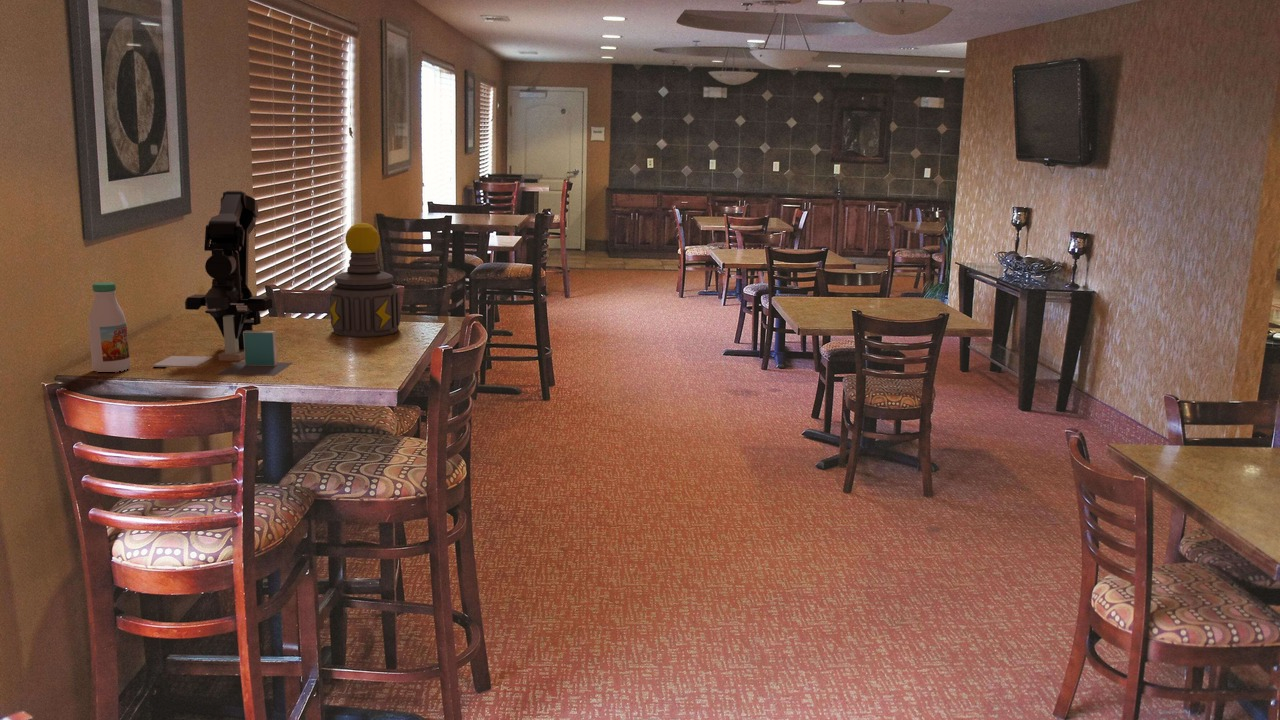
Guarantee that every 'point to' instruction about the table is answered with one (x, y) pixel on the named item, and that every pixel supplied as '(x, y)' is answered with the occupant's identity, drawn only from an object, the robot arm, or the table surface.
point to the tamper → (230, 341)
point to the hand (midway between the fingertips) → (231, 338)
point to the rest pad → (182, 361)
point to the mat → (254, 369)
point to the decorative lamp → (364, 290)
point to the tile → (260, 348)
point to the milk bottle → (108, 331)
